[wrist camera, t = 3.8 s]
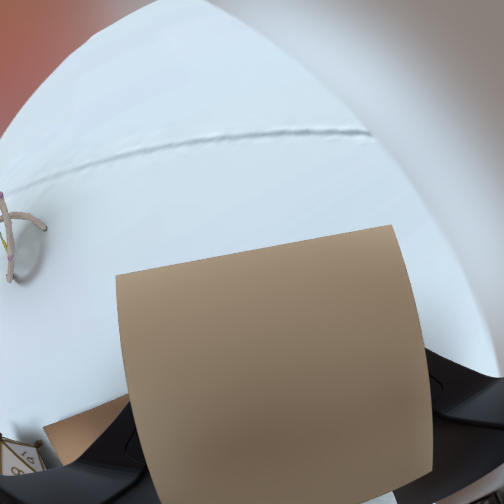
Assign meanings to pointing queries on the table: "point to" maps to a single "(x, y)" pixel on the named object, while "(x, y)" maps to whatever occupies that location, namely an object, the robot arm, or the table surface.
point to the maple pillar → (279, 373)
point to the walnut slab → (82, 429)
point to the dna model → (8, 224)
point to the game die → (19, 457)
